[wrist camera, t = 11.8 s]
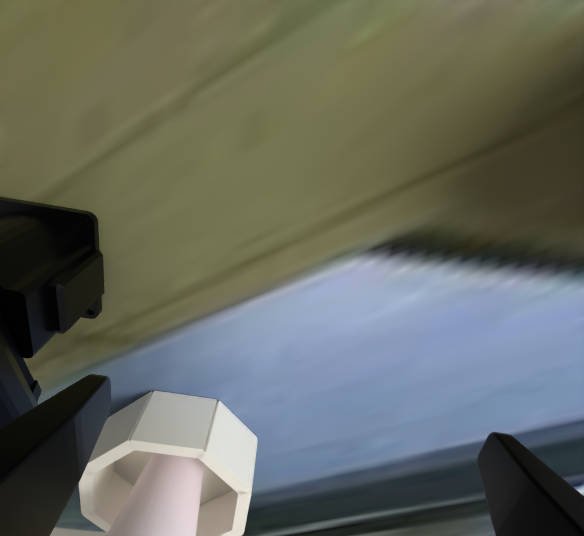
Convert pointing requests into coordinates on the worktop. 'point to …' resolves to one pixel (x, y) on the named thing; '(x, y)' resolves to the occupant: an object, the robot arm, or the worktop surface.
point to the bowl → (180, 442)
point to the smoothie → (163, 499)
